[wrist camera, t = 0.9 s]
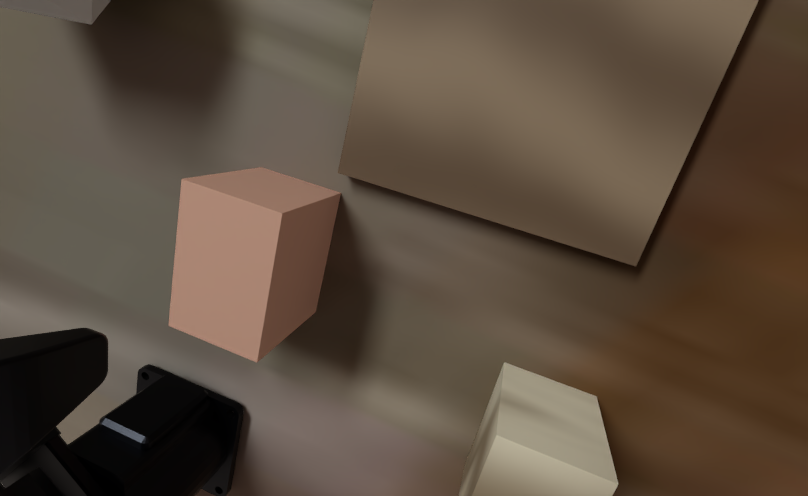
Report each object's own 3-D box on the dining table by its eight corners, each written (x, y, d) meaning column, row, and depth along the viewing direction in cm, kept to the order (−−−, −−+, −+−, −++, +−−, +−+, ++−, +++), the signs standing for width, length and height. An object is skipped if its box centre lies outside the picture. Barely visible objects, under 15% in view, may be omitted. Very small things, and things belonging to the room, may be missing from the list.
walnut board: (631, 260, 17) (635, 266, 16) (345, 171, 19) (337, 172, 18) (837, -193, 12) (857, -214, 12) (432, -243, 15) (427, -263, 14)
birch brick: (546, 499, 21) (551, 607, 16) (464, 464, 21) (446, 558, 17) (596, 395, 19) (618, 484, 14) (504, 361, 19) (496, 435, 15)
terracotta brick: (316, 311, 21) (256, 362, 17) (244, 284, 22) (168, 325, 17) (341, 192, 19) (282, 213, 15) (262, 166, 20) (181, 178, 15)
